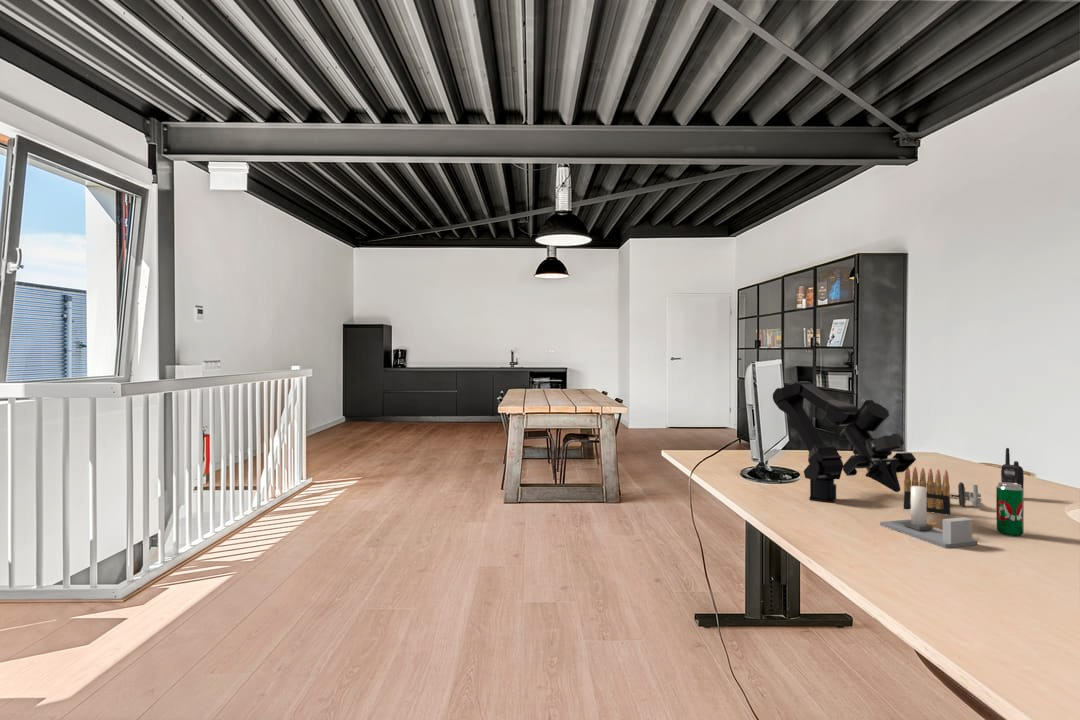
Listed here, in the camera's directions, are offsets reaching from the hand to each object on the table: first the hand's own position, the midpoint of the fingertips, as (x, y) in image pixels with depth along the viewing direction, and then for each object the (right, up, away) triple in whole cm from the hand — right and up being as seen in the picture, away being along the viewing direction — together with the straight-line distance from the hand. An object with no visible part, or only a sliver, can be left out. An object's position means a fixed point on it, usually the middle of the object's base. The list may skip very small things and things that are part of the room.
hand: (898, 491), depth 145 cm
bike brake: (+30, -9, +23) cm, 39 cm away
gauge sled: (+3, -8, -5) cm, 10 cm away
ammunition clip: (+16, -9, +13) cm, 22 cm away
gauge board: (+2, -9, -8) cm, 12 cm away
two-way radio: (+51, -8, +26) cm, 58 cm away
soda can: (+22, -9, -8) cm, 25 cm away
